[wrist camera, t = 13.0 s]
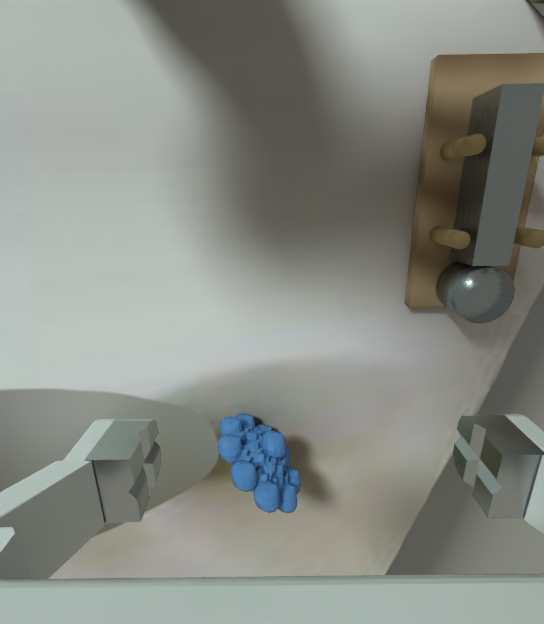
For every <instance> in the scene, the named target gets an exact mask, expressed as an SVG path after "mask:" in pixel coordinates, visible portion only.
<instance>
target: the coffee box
mask: <svg viewBox="0 0 544 624" xmlns="http://www.w3.org/2000/svg"><path fill="white" fill-rule="evenodd" d="M529 1H530V2H531V3H532V4H533V6H534V7H535V8H536V9H537V10H538V11H539V13H540V14H541V15H542V16H543V17H544V0H529Z"/></svg>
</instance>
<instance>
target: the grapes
mask: <svg viewBox="0 0 544 624" xmlns="http://www.w3.org/2000/svg"><path fill="white" fill-rule="evenodd" d="M220 432H221V435H222V437H221V438H220V439H219V442H218V451H219V454H220V457H221V458H222V459H223V460H224V461H226V462H229V463H234V464H233V465H232V469H231V477H232V481H233V484H234V485H235V487H237V488H238V489H239V490H241V491H245V492H249V491H253V489H254V491H253V493H254V500H255V503H256V505H257V506H258V507H259V508H260V509H261V510H263V511H266V512H268V513H270V512H275V511H276V510H277V509H279V510H280V511H282V512H285V513H291V512H293V511H294V510H295V509H296V507H297V495H296V494H297V493H298V492H299V491H300V486H301V481H300V476H299V472H298V471H297V470H295V469H293V468H291V467H290V464H291V457H290V451H289V448H287V447H286V445H285V439H284V436H283V434H281V433H279V432H275V431H272V428H271V427H269V426H267V425H263V424H257V425H256V426H255V422H254V418H253V416H251V415H248V414H244V413H242V414H238V415H237V416H235V418H234V417H231V416H230V417H225V418H224V419H222V420H221V424H220Z"/></svg>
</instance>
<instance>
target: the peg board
mask: <svg viewBox="0 0 544 624" xmlns="http://www.w3.org/2000/svg"><path fill="white" fill-rule="evenodd" d="M529 83H544V53H528V54H468V55H438V56H437V57H436V58H434V59H433V60H432V61H431V69H430V79H429V88H428V97H427V106H426V115H425V124H424V133H423V143H422V152H421V161H420V170H419V179H418V188H417V197H416V207H415V216H414V225H413V234H412V243H411V252H410V261H409V271H408V280H407V289H406V298H405V304H406V305H407V306H408V307H446V306H445V305H443V304H442V303H441V302H440V301H439V299H438V297H437V294H436V283H437V280H438V277H439V275H440V274H441V272H442V271H443V270H444V269H445V268H446V267H447V266H448V265H450V264H452V263H454V262H456V261H457V260H454V259H451V258H450V251H451V247H453V248H456V249H464V248H466V247H467V246H468V245H469V243H470V235H469V234H468V233H467V232H464V231H458V230H454V223H455V217H456V210H457V203H458V196H459V189H460V182H461V175H462V168H463V161H464V157H466V156H471V155H476V154H479V153H481V152H482V151H483V150H484V148H485V146H486V139H485V137H484V136H483V135H482V134H474V135H471V136H467V134H468V127H469V120H470V113H471V106H472V100H473V98H474V97H476V96H478V95H481V94H483V93H485V92H487V91H489V90H491V89H493V88H495V87H497V86H499V85H501V84H529ZM543 134H544V94H543V99H542V104H541V109H540V114H539V119H538V124H537V129H536V134H535V139H534V144H533V149H532V154H531V159H530V164H529V169H528V174H527V179H526V184H525V189H524V194H523V199H522V204H521V209H520V214H519V219H518V224H517V229H516V234H515V239H514V244H513V249H512V254H511V259H510V264H509V266H491V267H494V268H497V269H500V270H502V271H504V272H506V273H507V274H508V275H509V276H510V278H511V279H512V281H513V279H514V274H515V270H516V265H517V260H518V255H519V250H520V245H523V246H528V247H533V248H539V247H541V246H543V245H544V231H542V230H535V229H527V228H524V226H525V221H526V216H527V212H528V207H529V202H530V197H531V192H532V187H533V183H534V178H535V173H536V168H537V163H538V158H539V156H543V155H544V136H543Z"/></svg>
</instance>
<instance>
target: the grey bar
mask: <svg viewBox="0 0 544 624" xmlns="http://www.w3.org/2000/svg"><path fill="white" fill-rule="evenodd" d="M543 94H544V83H529V84H501V85H499V86H497V87H495V88H493V89H491V90H489V91H487V92H485V93H483V94H481V95H478V96H476V97H474V98H473V100H472V106H471V113H470V120H469V127H468V134H467V136H471V135H474V134H482V135H483V136H484V137H485V139H486V146H485V148H484V150H483V151H482V152H481V153H479V154H476V155H471V156H466V157H464V161H463V168H462V175H461V182H460V189H459V196H458V203H457V210H456V217H455V223H454V230H458V231H464V232H467V233H468V234H469V235H470V243H469V245H468V246H467V247H466V248H464V249H456V248H453V247H451V251H450V258H451V259H454V260H457V261H456V262H454V263H452V264H450V265H448V266H447V267H446V268H445V269H444V270H443V271H442V272H441V274H440V275H439V277H438V280H437V283H436V294H437V297H438V299H439V301H440V302H441V303H442V304H443V305H445V306H446V307H448V308H449V309H451V310H452V311H454V312H455V313H457V314H459V315H460V316H462V317H463V318H465V319H466V320H468V321H471V322H474V323H485V322H489V321H492V320H495V319H496V318H498V317H500V316H501V315H502V314H503V313H504V312H505V311H506V310H507V309H508V308H509V306H510V304H511V303H512V300H513V297H514V284H513V281H512V279H511V278H510V276H509V275H508V274H507V273H506V272H504V271H502V270H500V269H497V268H494V267H491V266H509V264H510V259H511V254H512V249H513V244H514V239H515V234H516V229H517V224H518V219H519V214H520V209H521V204H522V199H523V194H524V189H525V184H526V179H527V174H528V169H529V164H530V159H531V154H532V149H533V144H534V139H535V134H536V129H537V124H538V119H539V114H540V109H541V104H542V99H543Z"/></svg>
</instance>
